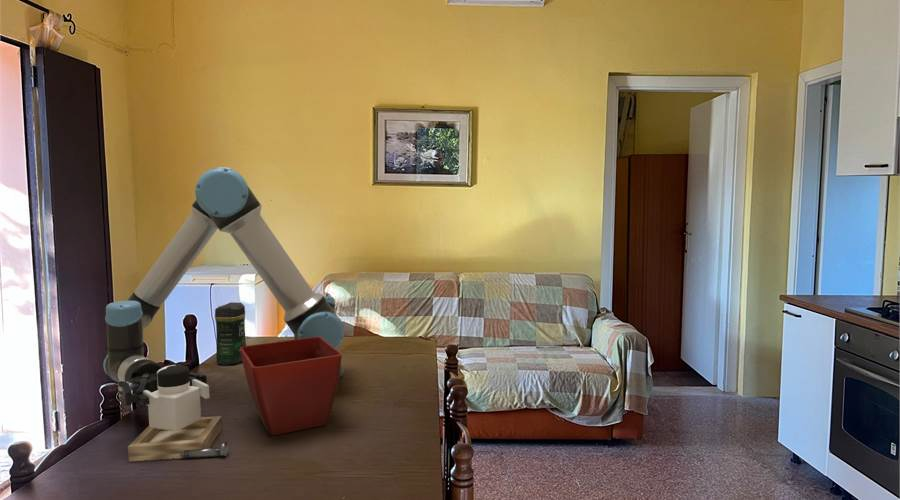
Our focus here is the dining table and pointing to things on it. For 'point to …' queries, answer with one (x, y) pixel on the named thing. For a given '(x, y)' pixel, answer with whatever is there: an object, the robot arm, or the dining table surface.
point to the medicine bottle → (175, 400)
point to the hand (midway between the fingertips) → (183, 398)
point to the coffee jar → (230, 332)
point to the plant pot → (292, 382)
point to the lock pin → (206, 452)
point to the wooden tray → (174, 440)
